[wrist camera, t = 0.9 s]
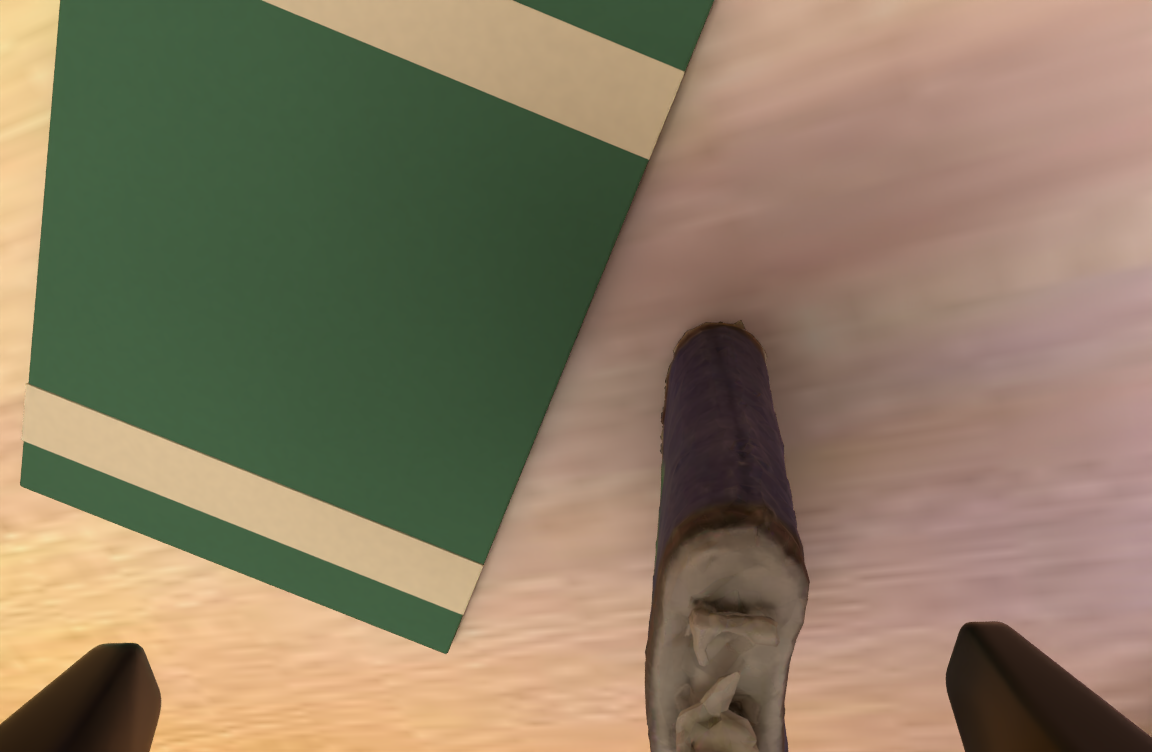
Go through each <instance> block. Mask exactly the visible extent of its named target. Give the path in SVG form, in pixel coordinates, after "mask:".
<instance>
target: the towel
mask: <svg viewBox="0 0 1152 752" xmlns="http://www.w3.org/2000/svg"><path fill="white" fill-rule="evenodd" d="M713 2H714V0H60V10H59V22H58V34H57V47H56V59H55V71H54V83H53V95H52V107H51V119H50V131H49V143H48V155H47V167H46V179H45V191H44V203H43V215H42V227H41V239H40V251H39V264H38V276H37V288H36V300H35V312H34V324H33V336H32V348H31V360H30V372H29V384H28V383H27V384H26V389H25V401H24V413H23V426H22V438H21V440H22V441H24V444H23V456H22V468H21V481H20V485H21V486H22V487H24V488H27V489H29V490H32V491H34V492H37V493H39V494H42V495H44V496H47V497H49V498H52V499H55V500H57V501H60V502H62V503H65V504H67V505H70V506H72V507H75V508H77V509H80V510H82V511H85V512H87V513H90V514H93V515H95V516H98V517H100V518H103V519H105V520H108V521H110V522H113V523H115V524H118V525H120V526H123V527H125V528H128V529H130V530H133V531H136V532H138V533H141V534H143V535H146V536H148V537H151V538H153V539H156V540H158V541H161V542H163V543H166V544H168V545H171V546H174V547H176V548H179V549H181V550H184V551H186V552H189V553H191V554H194V555H196V556H199V557H201V558H204V559H206V560H209V561H211V562H214V563H217V564H219V565H222V566H224V567H227V568H229V569H232V570H234V571H237V572H239V573H242V574H244V575H247V576H249V577H252V578H255V579H257V580H260V581H262V582H265V583H267V584H270V585H272V586H275V587H277V588H280V589H282V590H285V591H287V592H290V593H293V594H295V595H298V596H300V597H303V598H305V599H308V600H310V601H313V602H315V603H318V604H320V605H323V606H325V607H328V608H330V609H333V610H336V611H338V612H341V613H343V614H346V615H348V616H351V617H353V618H356V619H358V620H361V621H363V622H366V623H368V624H371V625H374V626H376V627H379V628H381V629H384V630H386V631H389V632H391V633H394V634H396V635H399V636H401V637H404V638H406V639H409V640H411V641H414V642H417V643H419V644H422V645H424V646H427V647H429V648H432V649H434V650H437V651H439V652H442V653H444V654H447V653H448V651H449V649H450V646H451V644H452V641H453V639H454V636H455V634H456V631H457V629H458V627H459V624H460V622H461V619H462V617H463V614H464V612H465V609H466V607H467V605H468V602H469V600H470V597H471V595H472V592H473V590H474V587H475V585H476V583H477V580H478V578H479V575H480V573H481V570H482V568H483V565H484V563H485V560H486V558H487V556H488V553H489V551H490V548H491V546H492V543H493V541H494V538H495V536H496V533H497V531H498V529H499V526H500V524H501V521H502V519H503V516H504V514H505V511H506V509H507V507H508V504H509V502H510V499H511V497H512V494H513V492H514V489H515V487H516V484H517V482H518V480H519V477H520V475H521V472H522V470H523V467H524V465H525V462H526V460H527V458H528V455H529V453H530V450H531V448H532V445H533V443H534V440H535V438H536V436H537V433H538V431H539V428H540V426H541V423H542V421H543V418H544V416H545V413H546V411H547V409H548V406H549V404H550V401H551V399H552V396H553V394H554V391H555V389H556V387H557V384H558V382H559V379H560V377H561V374H562V372H563V369H564V367H565V364H566V362H567V360H568V357H569V355H570V352H571V350H572V347H573V345H574V342H575V340H576V338H577V335H578V333H579V330H580V328H581V325H582V323H583V320H584V318H585V316H586V313H587V311H588V308H589V306H590V303H591V301H592V298H593V296H594V293H595V291H596V289H597V286H598V284H599V281H600V279H601V276H602V274H603V271H604V269H605V267H606V264H607V262H608V259H609V257H610V254H611V252H612V249H613V247H614V245H615V242H616V240H617V237H618V235H619V232H620V230H621V227H622V225H623V222H624V220H625V218H626V215H627V213H628V210H629V208H630V205H631V203H632V200H633V198H634V196H635V193H636V191H637V188H638V186H639V183H640V181H641V178H642V176H643V173H644V171H645V169H646V166H647V164H648V161H649V159H650V156H651V154H652V152H653V149H654V147H655V144H656V142H657V139H658V137H659V134H660V132H661V130H662V127H663V125H664V122H665V120H666V117H667V115H668V112H669V110H670V107H671V105H672V103H673V100H674V98H675V95H676V93H677V90H678V88H679V85H680V83H681V81H682V78H683V76H684V73H685V71H686V68H687V66H688V63H689V61H690V58H691V56H692V53H693V51H694V49H695V46H696V44H697V41H698V39H699V36H700V34H701V31H702V29H703V27H704V24H705V22H706V19H707V17H708V14H709V12H710V9H711V7H712V5H713Z"/></svg>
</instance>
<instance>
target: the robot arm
mask: <svg viewBox="0 0 1152 752" xmlns="http://www.w3.org/2000/svg"><path fill="white" fill-rule="evenodd" d="M946 687H947V693H948V696H949V700H950V703H951V706H952V710H953V713H954V716H955V720H956V723H957V726H958V730H959V733H960V736H961V739H962V743H963V746H964V749H965V752H1152V737H1150V736H1149V735H1148V734H1147V733H1145V732H1144V731H1143V730H1141V729H1140V728H1139V727H1138V726H1136V725H1135V724H1134V723H1133V722H1131V721H1130V720H1129V719H1127V718H1126V717H1125V716H1124V715H1122V714H1121V713H1120V712H1118V711H1117V710H1116V709H1115V708H1113V707H1112V706H1111V705H1109V704H1108V703H1107V702H1106V701H1104V700H1103V699H1102V698H1101V697H1099V696H1098V695H1097V694H1095V693H1094V692H1093V691H1092V690H1090V689H1089V688H1088V687H1086V686H1085V685H1084V684H1083V683H1081V682H1080V681H1079V680H1077V679H1076V678H1075V677H1074V676H1072V675H1071V674H1070V673H1069V672H1067V671H1066V670H1065V669H1063V668H1062V667H1061V666H1060V665H1058V664H1057V663H1056V662H1054V661H1053V660H1052V659H1051V658H1049V657H1048V656H1047V655H1045V654H1044V653H1043V652H1042V651H1040V650H1039V649H1038V648H1037V647H1035V646H1034V645H1033V644H1031V643H1030V642H1029V641H1028V640H1026V639H1025V638H1024V637H1022V636H1021V635H1020V634H1019V633H1017V632H1016V631H1015V630H1014V629H1012V628H1011V627H1009V626H1008V625H1006V624H1004V623H1002V622H996V621H990V622H968V623H966V624H964V625H963V626H962V627H961V629H960V631H959V634H958V637H957V640H956V643H955V646H954V649H953V652H952V655H951V658H950V661H949V664H948V667H947V672H946ZM160 709H161V694H160V690H159V687H158V685H157V682H156V680H155V677H154V674H153V672H152V669H151V667H150V664H149V662H148V659H147V657H146V654H145V652H144V650H143V648H142V647H141V646H139V645H138V644H136V643H108V644H102V645H99V646H97V647H95V648H93V649H92V650H90V651H89V652H88V653H87V654H85V655H84V656H83V657H82V658H81V659H79V660H78V661H77V662H76V663H74V664H73V665H72V666H71V667H70V668H68V669H67V670H66V671H65V672H63V673H62V674H61V675H60V676H59V677H57V678H56V679H55V680H54V681H53V682H51V683H50V684H49V685H48V686H46V687H45V688H44V689H43V690H42V691H40V692H39V693H38V694H37V695H35V696H34V697H33V698H32V699H31V700H29V701H28V702H27V703H26V704H24V705H23V706H22V707H21V708H20V709H18V710H17V711H16V712H15V713H14V714H12V715H11V716H10V717H9V718H7V719H6V720H5V721H4V722H3V723H1V724H0V752H149V751H150V748H151V744H152V740H153V737H154V733H155V730H156V726H157V722H158V719H159V715H160Z"/></svg>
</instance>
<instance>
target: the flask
mask: <svg viewBox="0 0 1152 752" xmlns="http://www.w3.org/2000/svg"><path fill="white" fill-rule="evenodd" d="M673 352H674V359H673V361H672V362H671V364H670V366H669V369H668V373H667V376H666V380H665V382H666V386H665V400H664V407H663V412H662V413H661V422H662V424H663V426H662V427H663V430H662V433H661V436H660V438H661V440H662V443H661V450H660V452H661V453H662V465H661V498H660V507H659V519H658V533H657V541H656V556H655V569H654V576H653V592H652V606H651V614H650V621H649V631H648V641H647V646H646V650H645V655H646V661H645V699H646V716H647V725H648V729H649V730H648V736H649V740H650V749H651V752H788V742H787V736H786V729H785V721H784V715H785V707H784V701H785V694H786V687H787V680H788V672H789V664H790V660H791V656H792V653H793V649H794V646H795V643H796V639H797V636H798V634H799V632H800V630H801V628H802V626H803V623H804V617H805V610H806V604H807V600H808V591H809V583H810V581H809V577H808V574H807V570H806V567H805V563H804V553H803V546H802V543H801V540H800V537H799V534H798V531H797V521H796V516H795V511H794V510H793V502H792V494H791V490H790V485H789V481H788V479H787V476H786V470H785V461H784V445H783V442H782V439H781V435H780V431H779V427H778V423H777V418H776V414H775V411H774V407H773V401H772V395H771V390H770V384H769V376H768V371H767V366H766V361H767V355H766V352H765V351H764V350H763V348H762V346H761V345H760V343H759V342H758V341H757V340H756V339H755V338H754V336H753V335H752V334H750V333H749V332H747V331H746V330H745V328H744V326H743V323H742V321H741V320H740V321H738V322H736V323H735V324H727V323H722V322H719V323H709V322H705V323H704V324H702V325H700V326H698V327H696V328H694V329H691V330H688V331H687V332H686V333H685V334H684V336H683V337H682V339H681V340H680V341H679V343H678V344H677V346H676V347H675V349H674V351H673Z"/></svg>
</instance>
